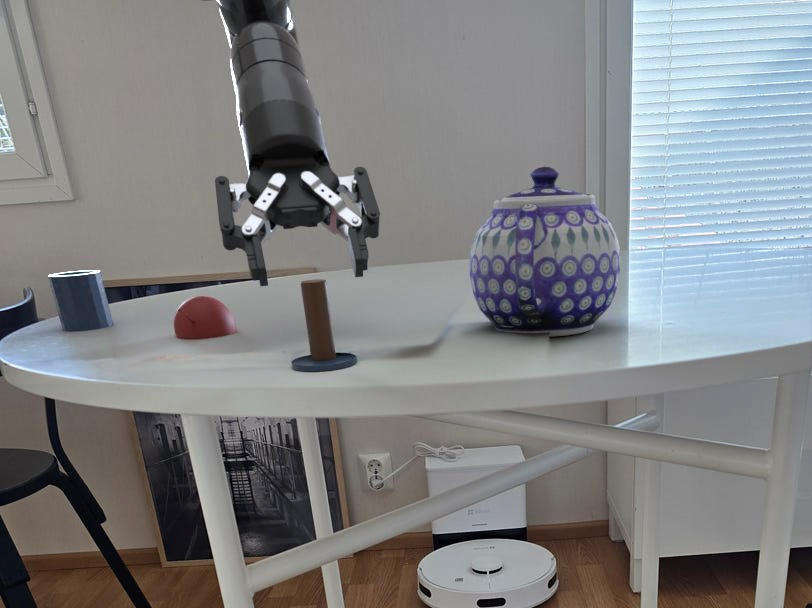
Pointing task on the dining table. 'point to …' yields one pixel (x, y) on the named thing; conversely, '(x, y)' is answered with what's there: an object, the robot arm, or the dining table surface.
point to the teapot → (545, 260)
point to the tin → (81, 300)
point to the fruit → (203, 319)
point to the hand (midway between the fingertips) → (311, 275)
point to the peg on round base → (320, 331)
